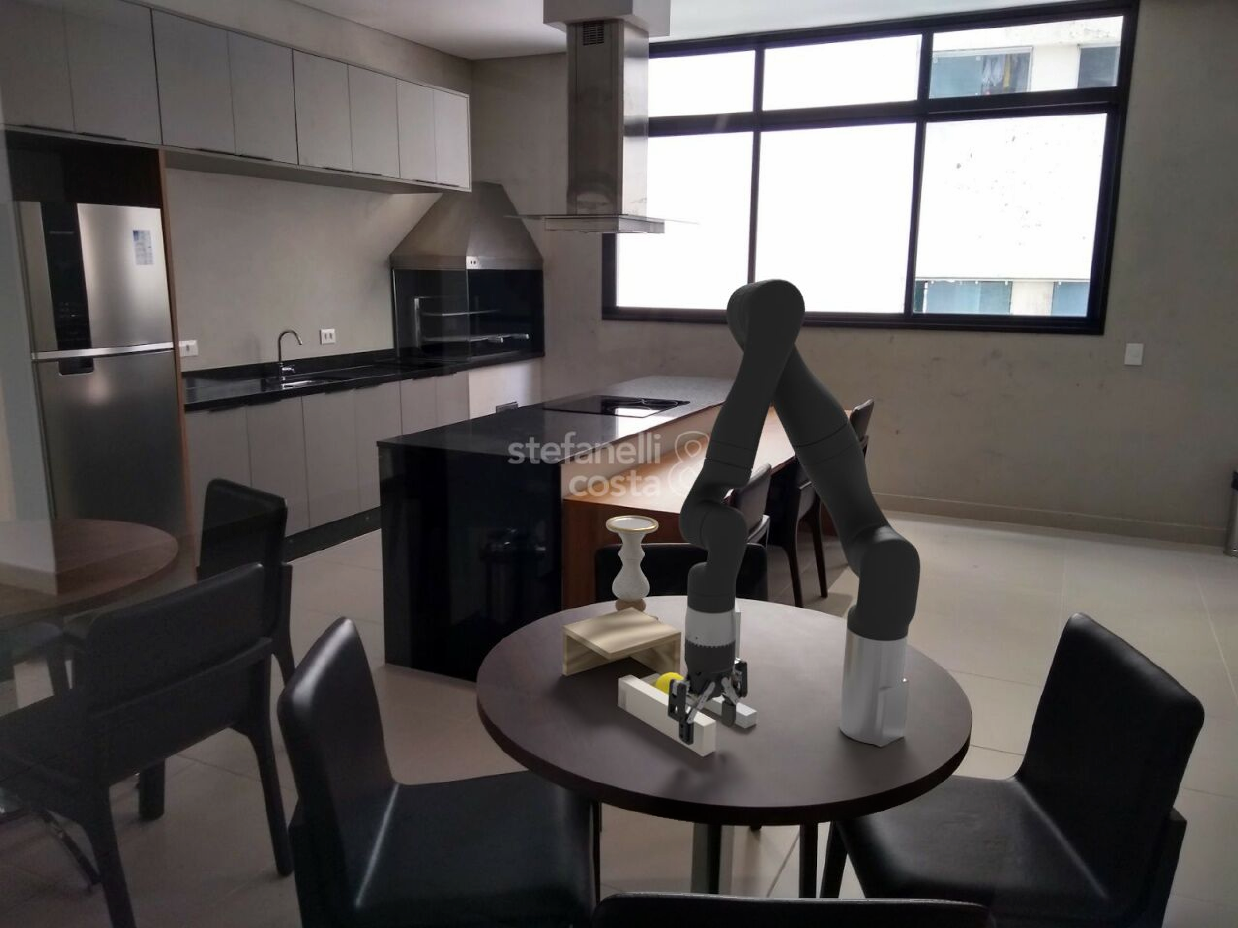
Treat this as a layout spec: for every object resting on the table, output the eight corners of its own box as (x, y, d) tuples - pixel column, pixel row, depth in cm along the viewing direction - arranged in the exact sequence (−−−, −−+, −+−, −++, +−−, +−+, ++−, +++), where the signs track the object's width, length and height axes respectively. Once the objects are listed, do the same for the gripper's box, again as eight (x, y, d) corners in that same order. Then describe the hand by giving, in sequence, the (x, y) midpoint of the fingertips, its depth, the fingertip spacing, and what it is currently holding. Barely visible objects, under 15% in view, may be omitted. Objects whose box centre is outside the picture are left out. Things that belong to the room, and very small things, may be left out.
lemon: (675, 718, 145) (674, 689, 143) (647, 709, 148) (645, 681, 146) (695, 696, 151) (694, 668, 149) (667, 688, 154) (666, 661, 152)
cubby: (679, 679, 158) (681, 631, 156) (609, 704, 148) (610, 653, 146) (631, 652, 169) (632, 607, 167) (562, 673, 159) (562, 625, 157)
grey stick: (756, 725, 143) (756, 710, 142) (745, 730, 141) (746, 715, 141) (694, 693, 153) (694, 680, 153) (683, 698, 152) (684, 684, 151)
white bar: (741, 738, 138) (743, 709, 137) (702, 756, 133) (703, 726, 132) (656, 691, 153) (657, 664, 152) (618, 706, 148) (618, 678, 147)
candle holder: (595, 644, 172) (596, 527, 167) (611, 623, 182) (613, 512, 177) (649, 652, 169) (652, 532, 164) (663, 630, 179) (666, 517, 174)
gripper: (691, 654, 123) (689, 759, 126) (762, 629, 132) (758, 729, 135) (657, 637, 129) (655, 738, 132) (726, 614, 137) (724, 710, 141)
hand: (707, 733), depth 134 cm, fingers open, 8 cm apart
